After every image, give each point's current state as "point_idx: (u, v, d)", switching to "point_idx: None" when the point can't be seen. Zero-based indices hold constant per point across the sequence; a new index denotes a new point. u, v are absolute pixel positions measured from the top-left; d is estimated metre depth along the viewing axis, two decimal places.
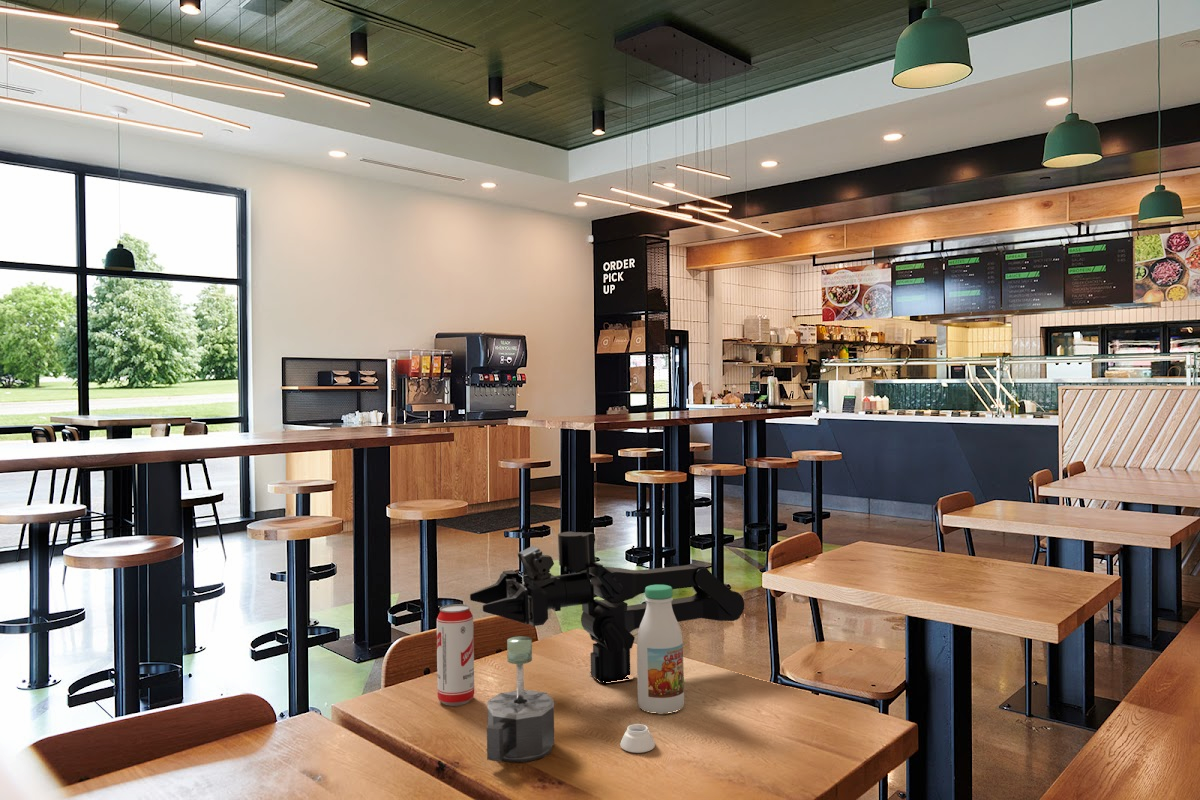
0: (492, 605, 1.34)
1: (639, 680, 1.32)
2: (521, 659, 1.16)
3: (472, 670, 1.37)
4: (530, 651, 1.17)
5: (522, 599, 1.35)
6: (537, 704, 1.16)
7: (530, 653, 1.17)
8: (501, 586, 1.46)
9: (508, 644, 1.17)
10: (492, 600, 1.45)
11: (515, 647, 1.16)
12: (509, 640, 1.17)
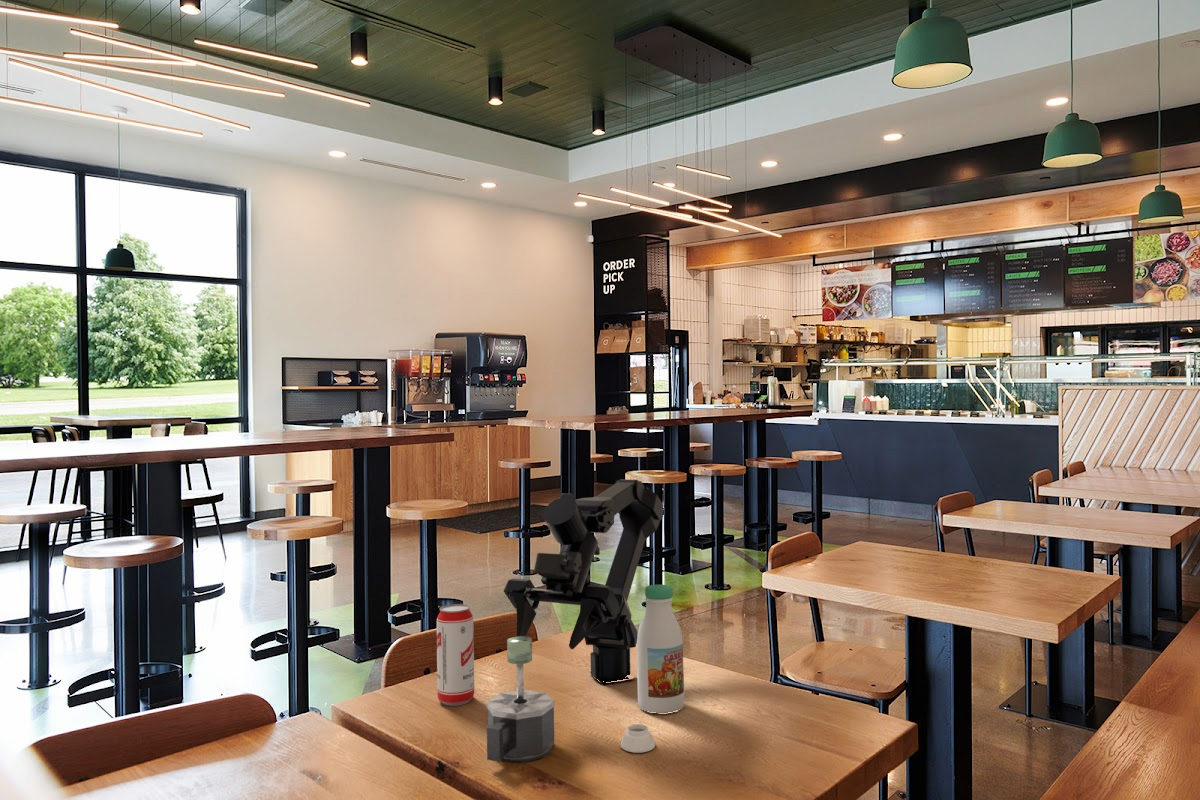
0: (576, 638, 1.23)
1: (639, 680, 1.32)
2: (521, 659, 1.16)
3: (472, 670, 1.37)
4: (530, 651, 1.17)
5: (592, 609, 1.25)
6: (537, 704, 1.16)
7: (530, 653, 1.17)
8: (526, 605, 1.30)
9: (508, 644, 1.17)
10: (528, 622, 1.30)
11: (515, 647, 1.16)
12: (509, 640, 1.17)
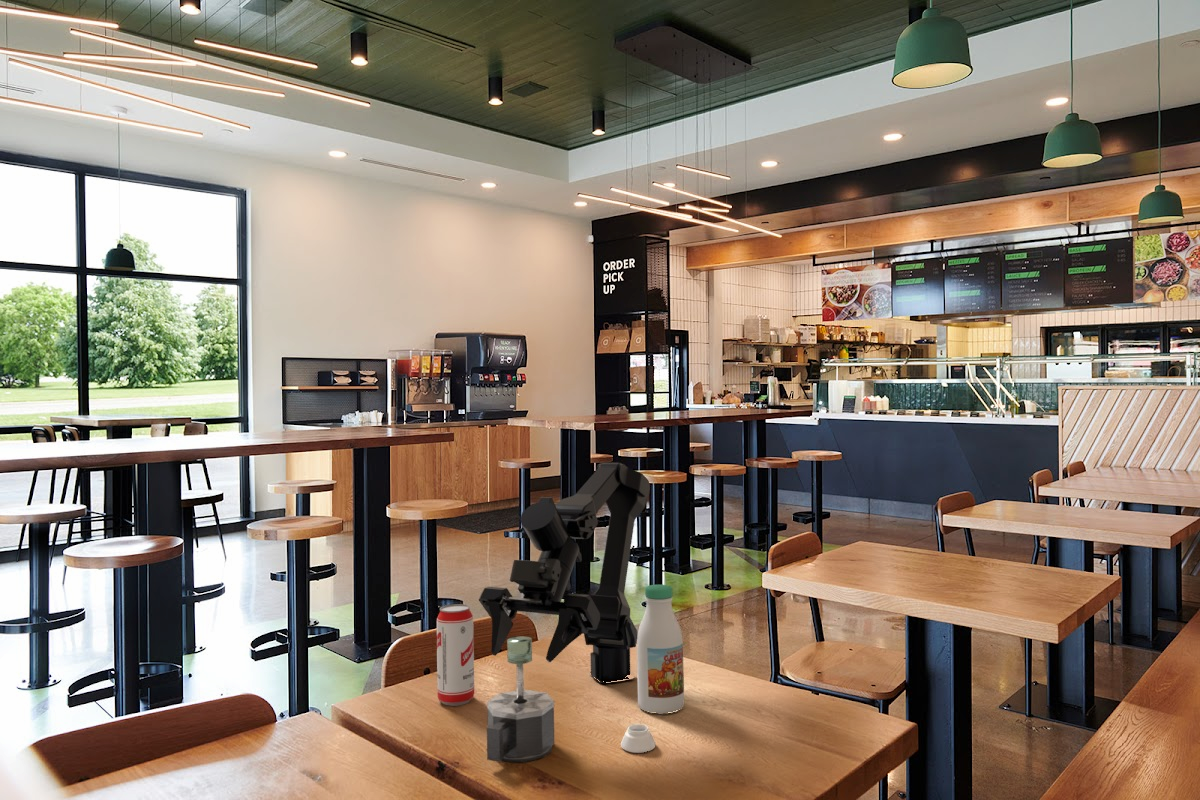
0: (554, 650, 1.16)
1: (639, 680, 1.32)
2: (521, 659, 1.16)
3: (472, 670, 1.37)
4: (530, 651, 1.17)
5: (571, 619, 1.18)
6: (537, 704, 1.16)
7: (530, 653, 1.17)
8: (502, 615, 1.23)
9: (508, 644, 1.17)
10: (505, 633, 1.23)
11: (515, 647, 1.16)
12: (509, 640, 1.17)
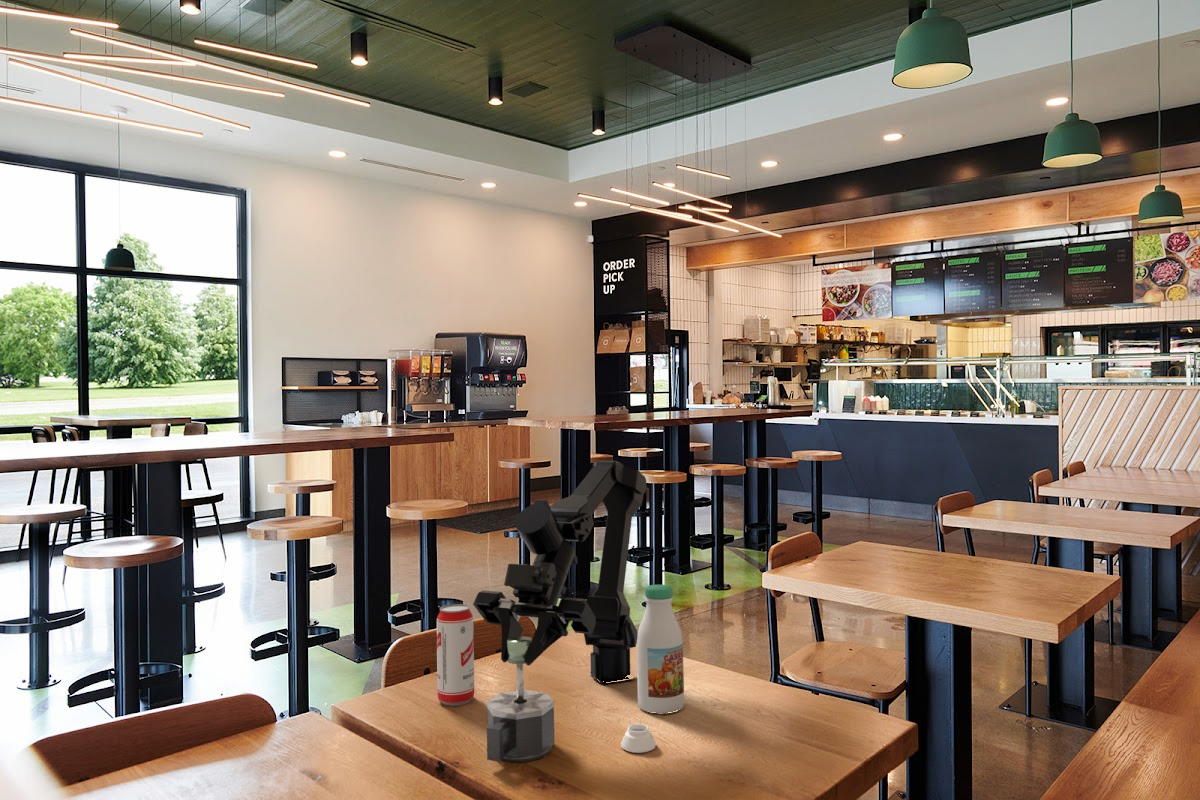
0: (533, 653, 1.16)
1: (639, 680, 1.32)
2: (521, 659, 1.16)
3: (472, 670, 1.37)
4: None
5: (551, 622, 1.18)
6: (537, 704, 1.16)
7: None
8: (512, 620, 1.20)
9: (508, 644, 1.17)
10: None
11: (515, 647, 1.16)
12: (509, 640, 1.17)
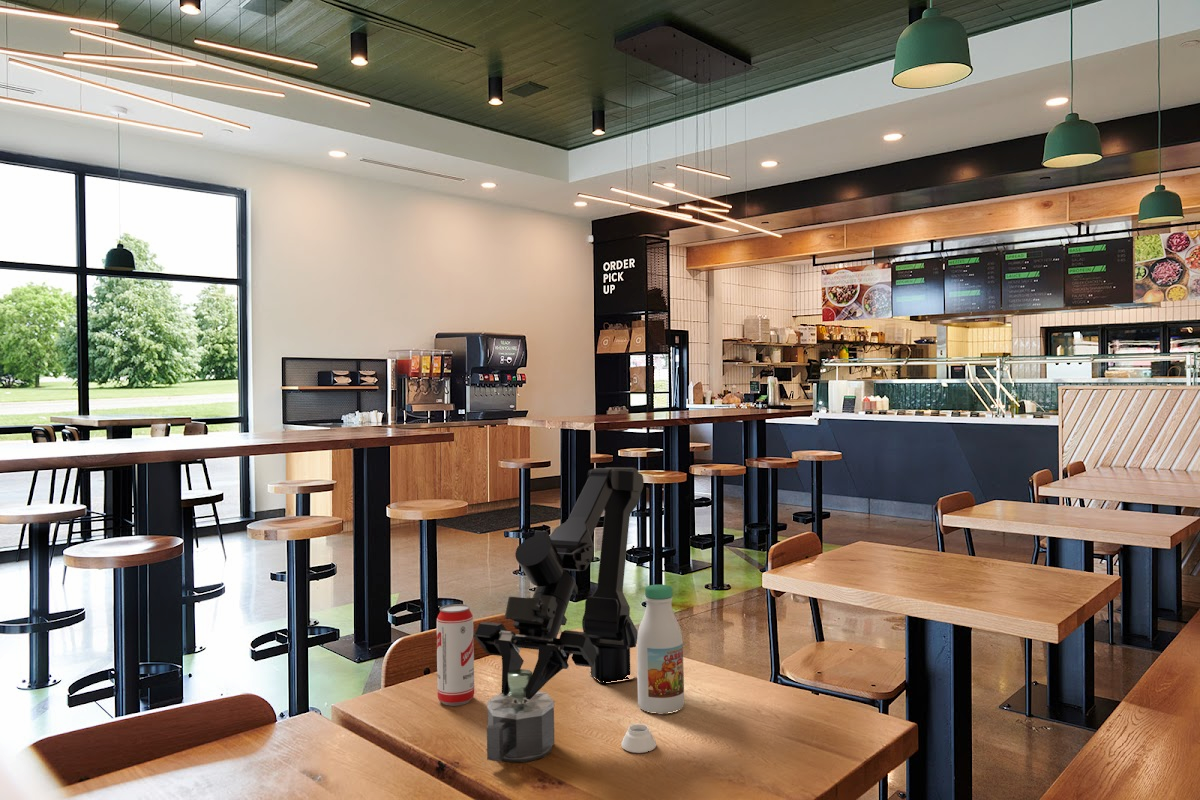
0: (533, 687, 1.16)
1: (639, 680, 1.32)
2: (522, 693, 1.16)
3: (472, 670, 1.37)
4: None
5: (551, 655, 1.18)
6: (537, 704, 1.16)
7: None
8: (512, 653, 1.20)
9: (509, 678, 1.16)
10: None
11: (515, 681, 1.16)
12: (510, 673, 1.17)
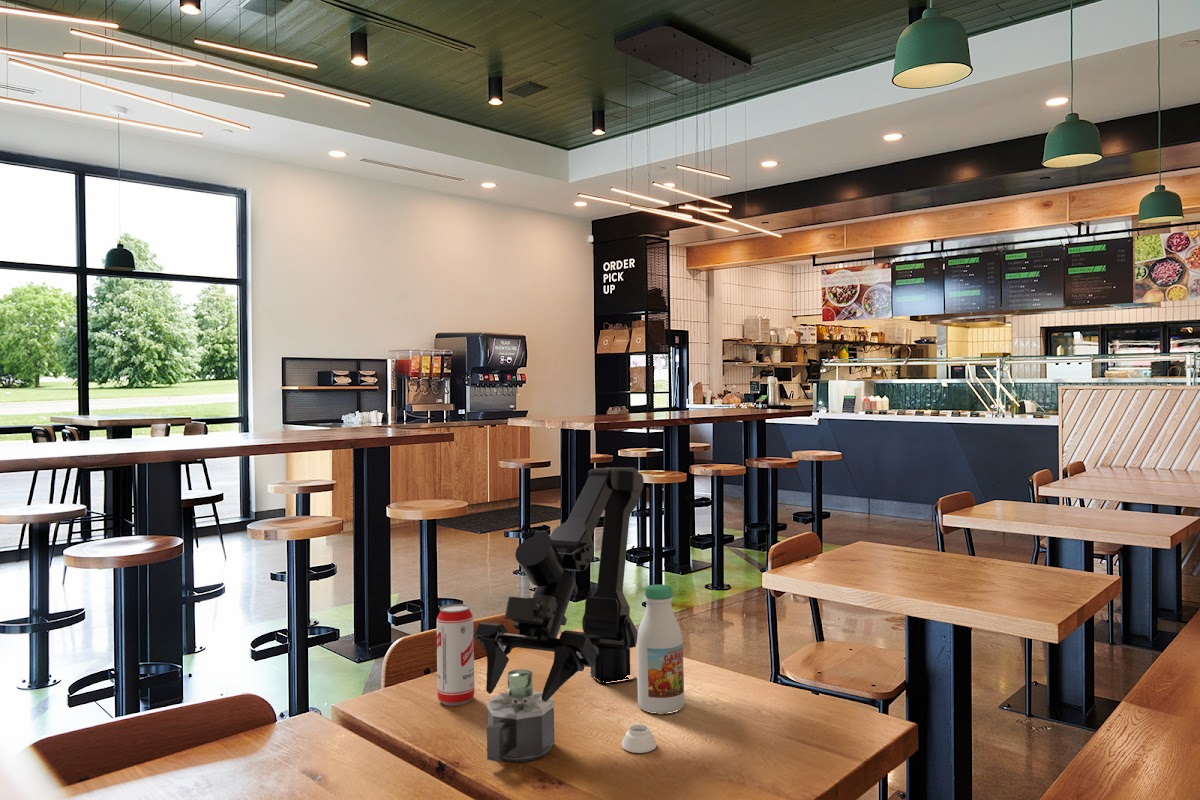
0: (549, 689, 1.15)
1: (639, 680, 1.32)
2: (522, 693, 1.16)
3: (472, 670, 1.37)
4: (531, 685, 1.17)
5: (567, 657, 1.17)
6: (537, 704, 1.16)
7: (531, 687, 1.17)
8: (497, 651, 1.21)
9: (509, 678, 1.16)
10: (500, 670, 1.21)
11: (515, 681, 1.16)
12: (510, 674, 1.17)
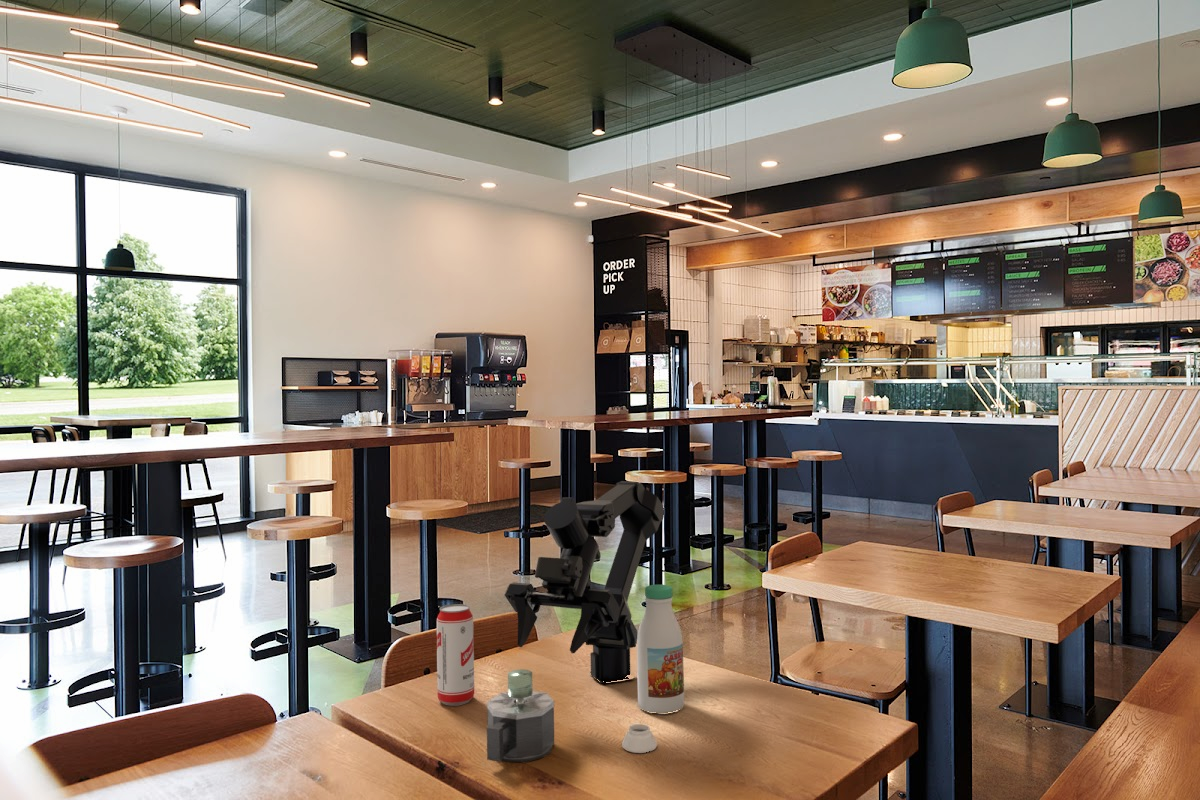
0: (577, 642, 1.23)
1: (639, 680, 1.32)
2: (522, 693, 1.16)
3: (472, 670, 1.37)
4: (531, 685, 1.17)
5: (593, 613, 1.25)
6: (537, 704, 1.16)
7: (531, 687, 1.17)
8: (527, 609, 1.30)
9: (509, 678, 1.16)
10: (529, 626, 1.30)
11: (515, 681, 1.16)
12: (510, 674, 1.17)
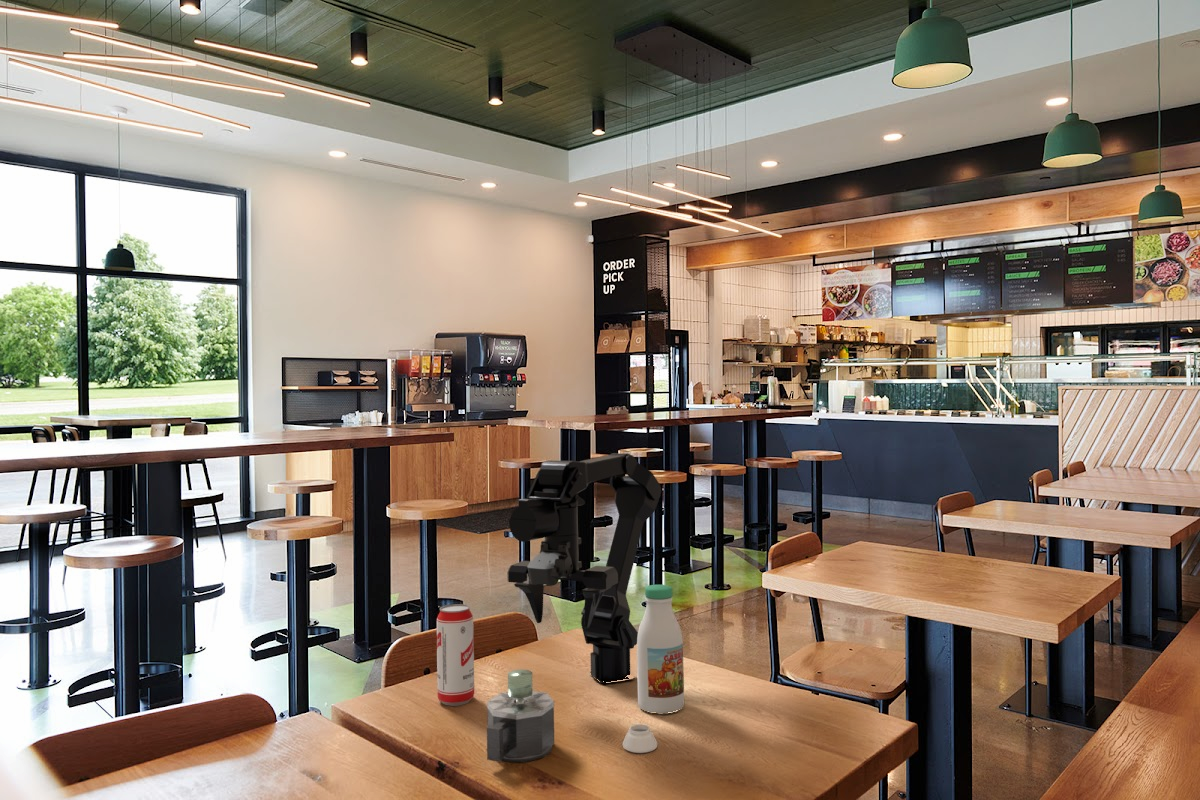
0: (589, 619, 1.34)
1: (639, 680, 1.32)
2: (522, 693, 1.16)
3: (472, 670, 1.37)
4: (531, 685, 1.17)
5: None
6: (537, 704, 1.16)
7: (531, 687, 1.17)
8: (533, 589, 1.38)
9: (509, 678, 1.16)
10: (541, 597, 1.40)
11: (515, 681, 1.16)
12: (510, 674, 1.17)
